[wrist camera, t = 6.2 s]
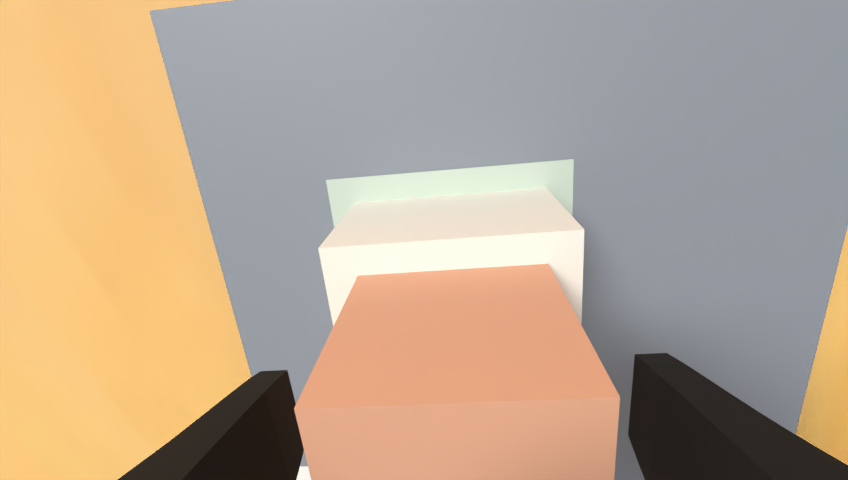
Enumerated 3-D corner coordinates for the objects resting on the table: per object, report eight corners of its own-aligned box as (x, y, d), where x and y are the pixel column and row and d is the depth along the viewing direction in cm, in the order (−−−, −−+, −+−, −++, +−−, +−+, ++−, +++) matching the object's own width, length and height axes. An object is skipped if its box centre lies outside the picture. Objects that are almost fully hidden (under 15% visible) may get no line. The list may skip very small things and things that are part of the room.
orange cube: (547, 418, 11) (604, 613, 7) (381, 423, 12) (344, 611, 7) (548, 263, 10) (620, 397, 6) (357, 275, 10) (293, 408, 6)
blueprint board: (746, 559, 19) (759, 580, 18) (313, 561, 21) (307, 580, 20) (893, -75, 11) (928, -87, 10) (166, 15, 13) (148, 10, 12)
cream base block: (546, 353, 15) (577, 442, 11) (379, 361, 16) (356, 448, 12) (546, 187, 13) (584, 229, 9) (354, 202, 14) (318, 248, 10)
